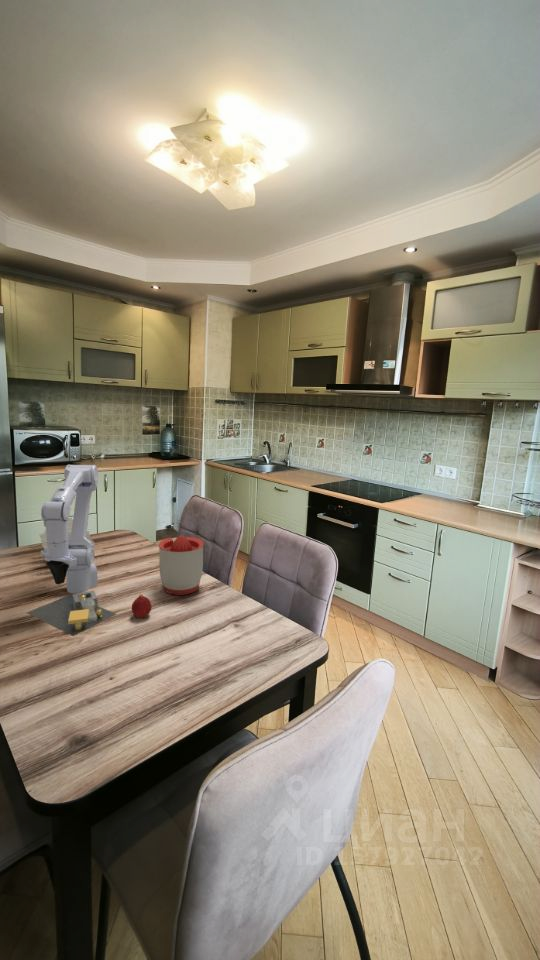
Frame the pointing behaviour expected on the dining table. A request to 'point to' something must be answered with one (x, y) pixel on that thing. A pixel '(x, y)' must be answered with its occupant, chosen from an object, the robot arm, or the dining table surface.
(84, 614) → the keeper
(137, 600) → the onion
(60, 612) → the plate
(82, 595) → the cylinder
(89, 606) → the link
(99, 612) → the post
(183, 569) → the citrus juicer
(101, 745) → the dining table surface
